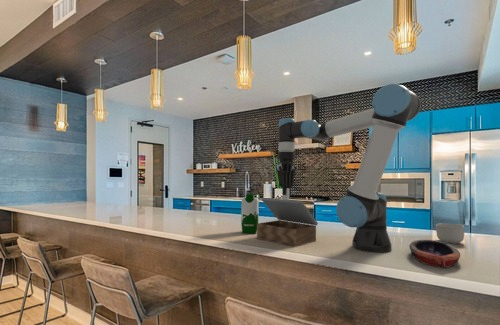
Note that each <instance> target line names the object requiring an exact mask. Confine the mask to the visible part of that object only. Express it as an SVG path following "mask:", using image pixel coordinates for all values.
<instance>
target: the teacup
mask: <svg viewBox="0 0 500 325" xmlns="http://www.w3.org/2000/svg"><path fill="white" fill-rule="evenodd" d="M435 228H436V229H435V231H436V236H437V237H436V238H438V239H439V241H440V242H444V243H445V242H448V244H450V245H458V244H460V243H461V242H463V241H464V240H465V226H464V225H462V224H456V223H447V222H446V223H442V222H440V223H436V224H435Z"/></svg>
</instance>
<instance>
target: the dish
mask: <svg viewBox="0 0 500 325" xmlns="http://www.w3.org/2000/svg"><path fill="white" fill-rule="evenodd" d="M409 250H410V253H411V255H412V256H413V257H414V259H416V260H417V261H419V262H421V263H422V264H426V265H429V266H433V267H437V268H442V269H443V268H444V269H445V268H449V267H452V266H455V265H456V264H457V263H459V261H460V260H459V259H460V258H461V253H460V251H459V249H457V248H456V247H455V246H453V245H452V244H449V243H448V242H445V243H444V242H442V241H440V240H439V241H438V240H433V239H417V240H414V241H412V242H411V243H410V244H409Z"/></svg>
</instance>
